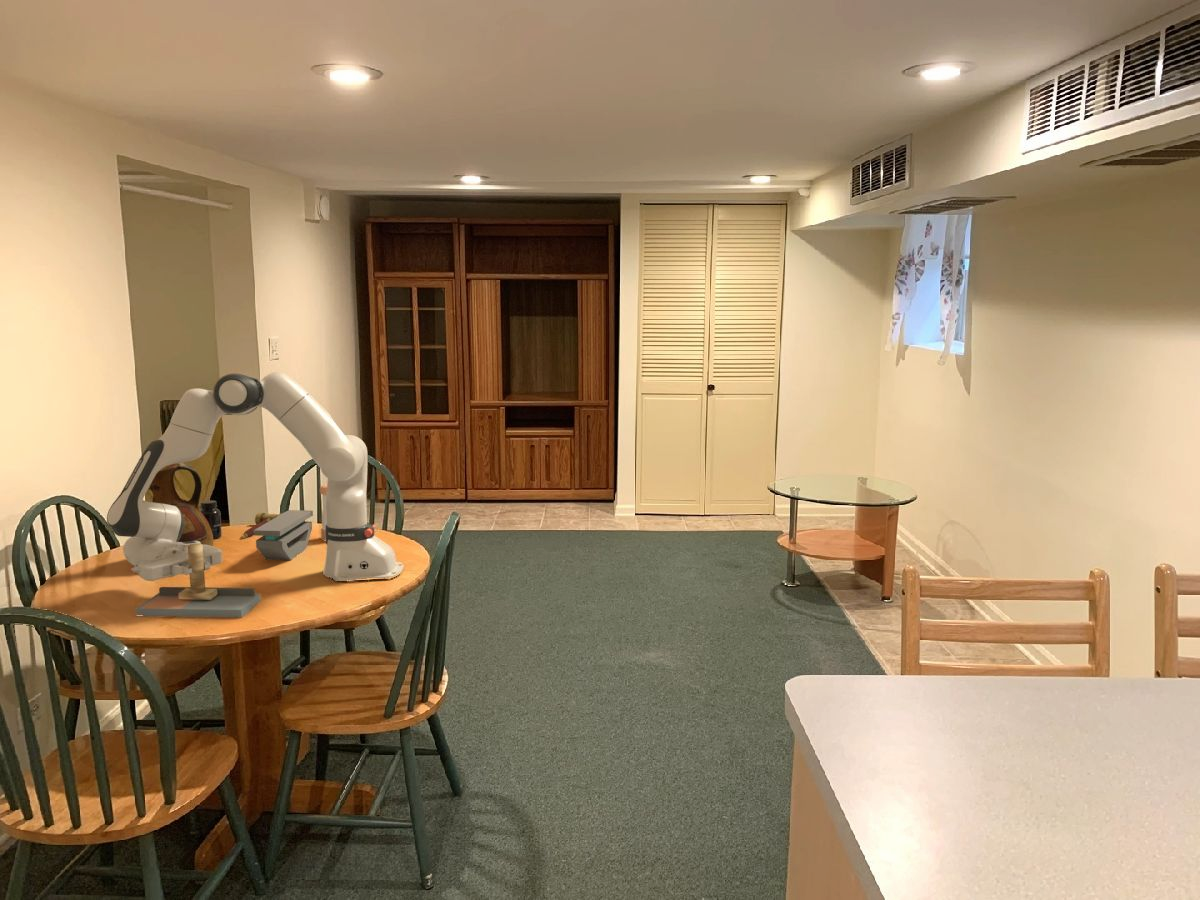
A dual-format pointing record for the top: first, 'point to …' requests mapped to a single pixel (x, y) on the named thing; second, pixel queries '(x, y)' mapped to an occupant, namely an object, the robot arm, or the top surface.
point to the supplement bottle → (212, 517)
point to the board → (200, 603)
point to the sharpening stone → (284, 535)
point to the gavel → (259, 523)
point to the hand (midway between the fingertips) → (198, 568)
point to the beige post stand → (197, 576)
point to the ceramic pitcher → (183, 503)
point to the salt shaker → (324, 517)
